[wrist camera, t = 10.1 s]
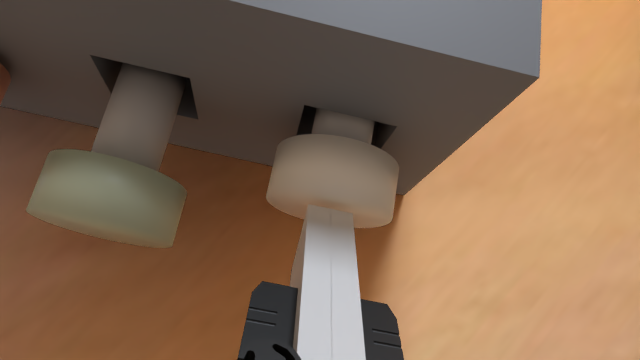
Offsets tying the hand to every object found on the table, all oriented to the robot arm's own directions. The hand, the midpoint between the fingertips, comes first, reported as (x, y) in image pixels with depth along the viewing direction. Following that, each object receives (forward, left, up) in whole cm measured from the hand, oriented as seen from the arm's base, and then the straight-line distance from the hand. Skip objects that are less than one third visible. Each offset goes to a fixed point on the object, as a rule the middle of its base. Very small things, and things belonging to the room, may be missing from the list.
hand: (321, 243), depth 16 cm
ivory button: (+1, -4, -2) cm, 5 cm away
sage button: (+7, 0, -2) cm, 8 cm away
